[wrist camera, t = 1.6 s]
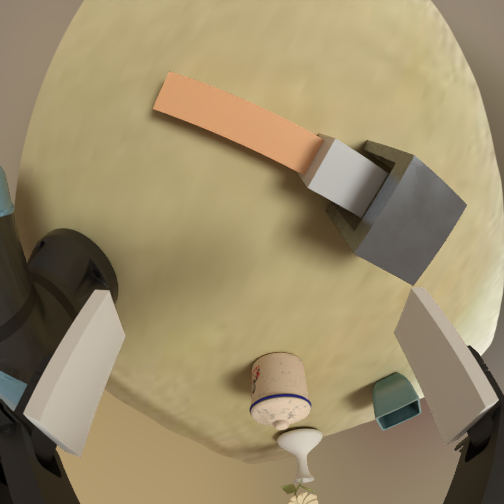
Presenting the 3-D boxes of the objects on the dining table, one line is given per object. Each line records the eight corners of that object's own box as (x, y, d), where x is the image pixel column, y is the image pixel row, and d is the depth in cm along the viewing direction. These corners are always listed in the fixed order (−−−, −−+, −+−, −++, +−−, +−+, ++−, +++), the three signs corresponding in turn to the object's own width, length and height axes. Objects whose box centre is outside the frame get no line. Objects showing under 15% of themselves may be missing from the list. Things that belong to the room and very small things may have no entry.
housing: (325, 211, 30) (353, 253, 21) (367, 140, 26) (414, 155, 17) (377, 240, 32) (413, 285, 23) (416, 176, 28) (467, 205, 19)
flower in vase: (330, 430, 57) (343, 515, 35) (295, 444, 61) (302, 523, 39) (298, 418, 53) (307, 518, 30) (262, 433, 56) (263, 524, 34)
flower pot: (363, 381, 46) (375, 419, 38) (404, 362, 44) (419, 398, 36) (372, 398, 50) (382, 431, 42) (408, 381, 48) (421, 413, 40)
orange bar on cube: (160, 113, 25) (138, 114, 20) (179, 71, 23) (161, 61, 18) (342, 198, 30) (361, 217, 24) (364, 161, 27) (388, 173, 22)
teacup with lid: (245, 353, 41) (243, 417, 31) (303, 346, 41) (314, 409, 30) (257, 393, 47) (257, 447, 37) (306, 387, 46) (313, 441, 36)
